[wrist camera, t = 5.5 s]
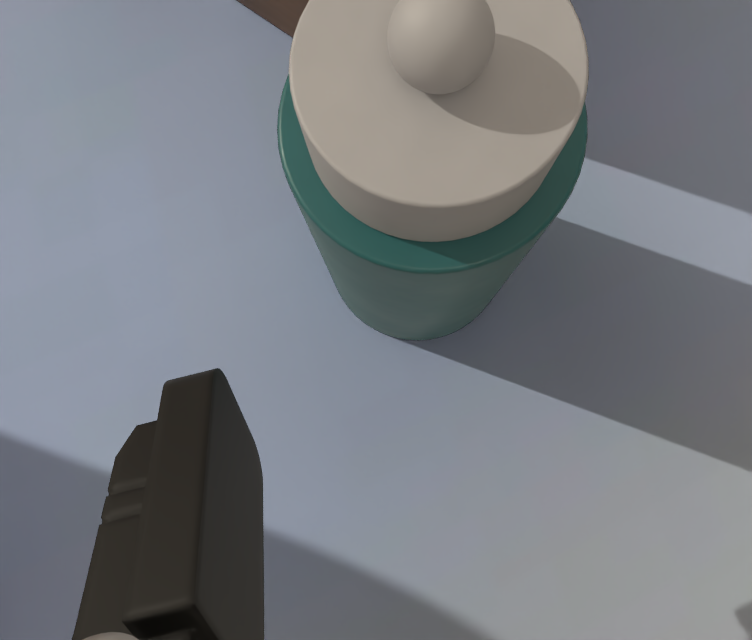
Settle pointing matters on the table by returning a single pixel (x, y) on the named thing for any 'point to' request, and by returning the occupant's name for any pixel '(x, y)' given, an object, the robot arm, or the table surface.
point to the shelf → (278, 12)
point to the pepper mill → (431, 147)
